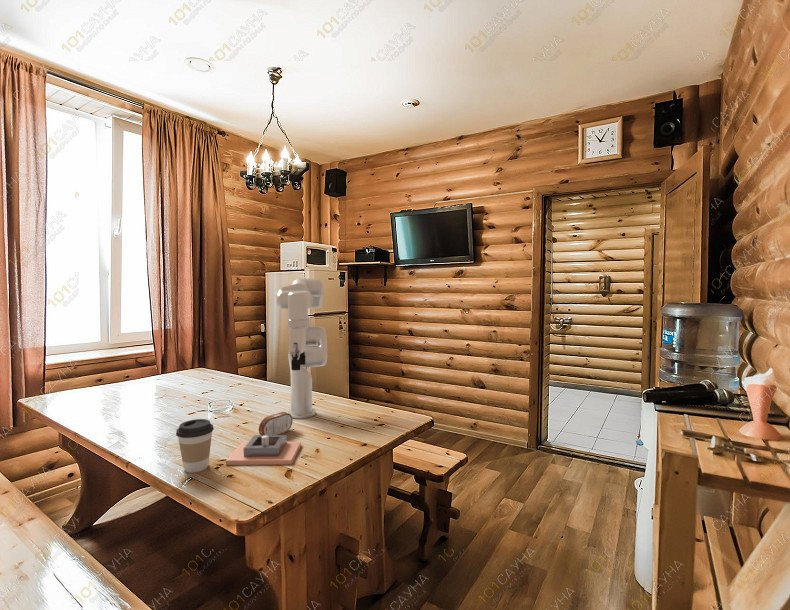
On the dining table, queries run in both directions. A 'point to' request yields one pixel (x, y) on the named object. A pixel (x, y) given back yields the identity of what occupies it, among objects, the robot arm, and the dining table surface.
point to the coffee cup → (195, 444)
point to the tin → (275, 424)
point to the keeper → (283, 458)
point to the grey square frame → (265, 451)
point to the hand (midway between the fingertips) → (298, 367)
